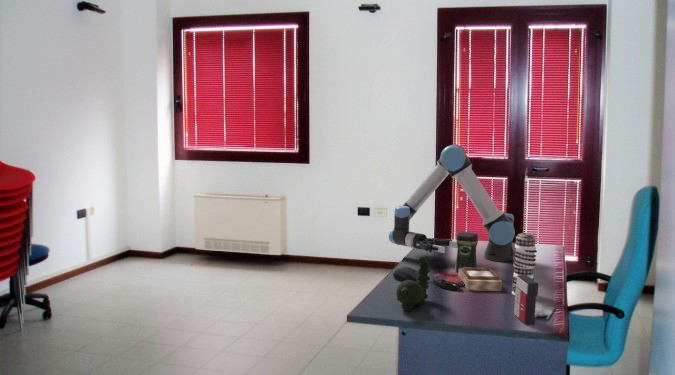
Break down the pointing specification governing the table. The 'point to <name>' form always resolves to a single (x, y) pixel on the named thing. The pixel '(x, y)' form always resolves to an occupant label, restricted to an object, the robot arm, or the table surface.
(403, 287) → the toy figurine
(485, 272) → the light brown wooden box
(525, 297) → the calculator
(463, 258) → the coffee jar
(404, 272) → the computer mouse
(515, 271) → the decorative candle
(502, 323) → the table surface
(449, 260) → the table surface
